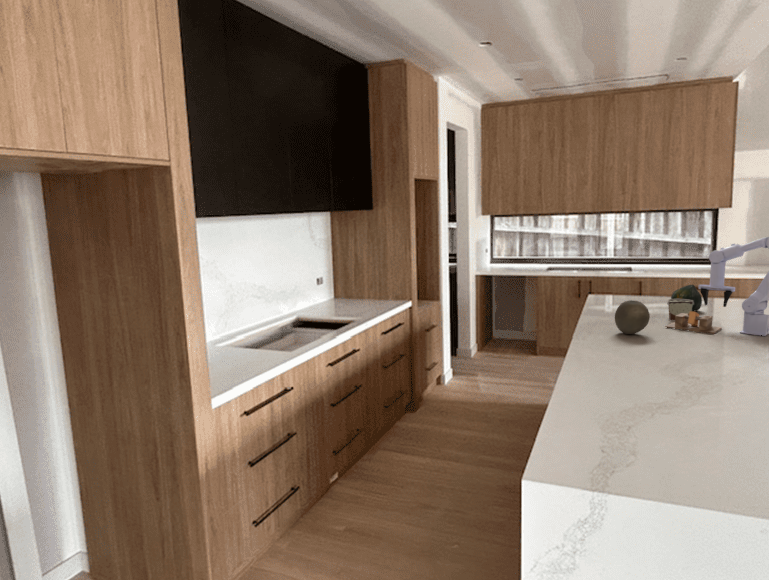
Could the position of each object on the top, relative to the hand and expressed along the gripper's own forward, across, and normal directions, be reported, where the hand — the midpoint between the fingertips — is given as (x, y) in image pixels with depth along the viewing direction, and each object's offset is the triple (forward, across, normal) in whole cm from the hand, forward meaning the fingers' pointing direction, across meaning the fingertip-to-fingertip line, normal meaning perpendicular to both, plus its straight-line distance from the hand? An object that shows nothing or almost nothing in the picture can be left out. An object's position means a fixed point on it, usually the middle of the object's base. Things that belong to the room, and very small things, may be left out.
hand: (715, 305), depth 257 cm
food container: (+10, -18, +8) cm, 22 cm away
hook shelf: (+10, -6, -10) cm, 15 cm away
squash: (+10, -22, +35) cm, 43 cm away
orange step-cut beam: (+8, -6, -11) cm, 15 cm away
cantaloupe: (+10, -23, -39) cm, 46 cm away
